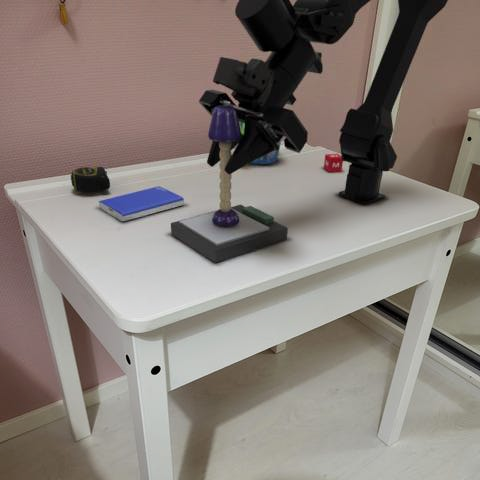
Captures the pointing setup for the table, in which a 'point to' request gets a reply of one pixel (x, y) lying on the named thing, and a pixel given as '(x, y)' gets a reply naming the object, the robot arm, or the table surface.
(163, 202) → the hard drive
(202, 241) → the scale
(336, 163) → the dice
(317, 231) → the table surface
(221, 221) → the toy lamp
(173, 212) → the table surface
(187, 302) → the table surface
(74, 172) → the tape measure
